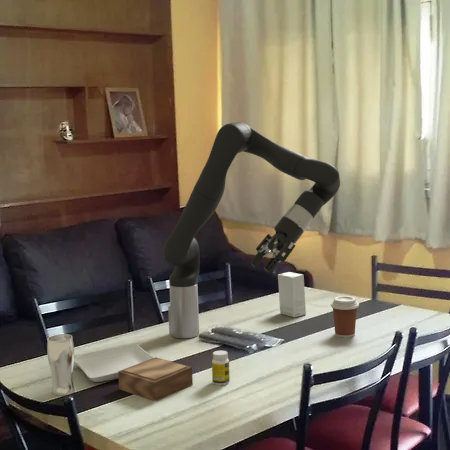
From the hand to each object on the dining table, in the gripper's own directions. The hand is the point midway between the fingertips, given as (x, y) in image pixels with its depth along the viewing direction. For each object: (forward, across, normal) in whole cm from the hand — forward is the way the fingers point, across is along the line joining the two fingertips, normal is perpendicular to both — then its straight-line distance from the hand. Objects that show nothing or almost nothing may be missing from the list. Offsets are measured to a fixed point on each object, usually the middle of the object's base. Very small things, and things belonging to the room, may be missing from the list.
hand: (259, 267), depth 208 cm
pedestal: (+43, +1, -3) cm, 43 cm away
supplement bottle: (+32, +6, +9) cm, 34 cm away
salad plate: (+48, -19, -7) cm, 52 cm away
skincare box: (-3, -44, +44) cm, 62 cm away
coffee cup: (-5, -14, +47) cm, 49 cm away
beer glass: (+60, -8, -20) cm, 63 cm away
